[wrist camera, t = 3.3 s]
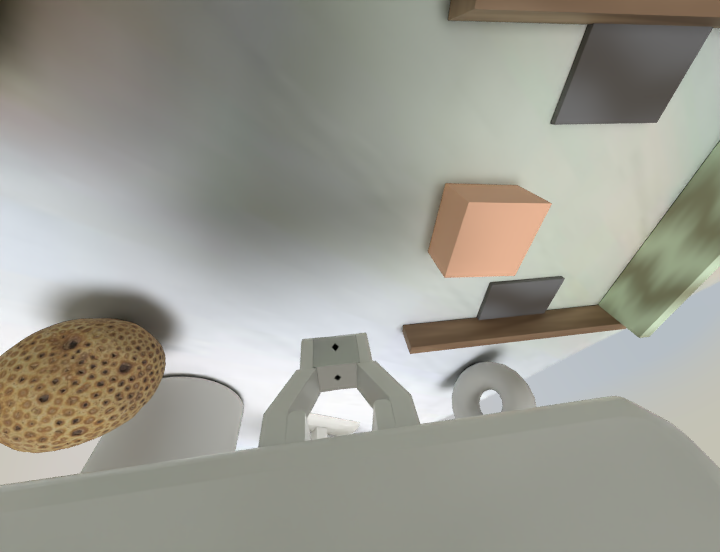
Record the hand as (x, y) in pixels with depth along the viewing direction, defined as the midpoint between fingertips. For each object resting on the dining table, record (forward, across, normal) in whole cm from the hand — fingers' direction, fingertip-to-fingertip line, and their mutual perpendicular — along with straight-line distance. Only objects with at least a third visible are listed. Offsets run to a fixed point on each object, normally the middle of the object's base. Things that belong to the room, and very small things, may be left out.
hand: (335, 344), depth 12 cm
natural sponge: (+11, +18, +7) cm, 22 cm away
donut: (+12, -18, +21) cm, 30 cm away
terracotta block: (+11, -12, -1) cm, 16 cm away
